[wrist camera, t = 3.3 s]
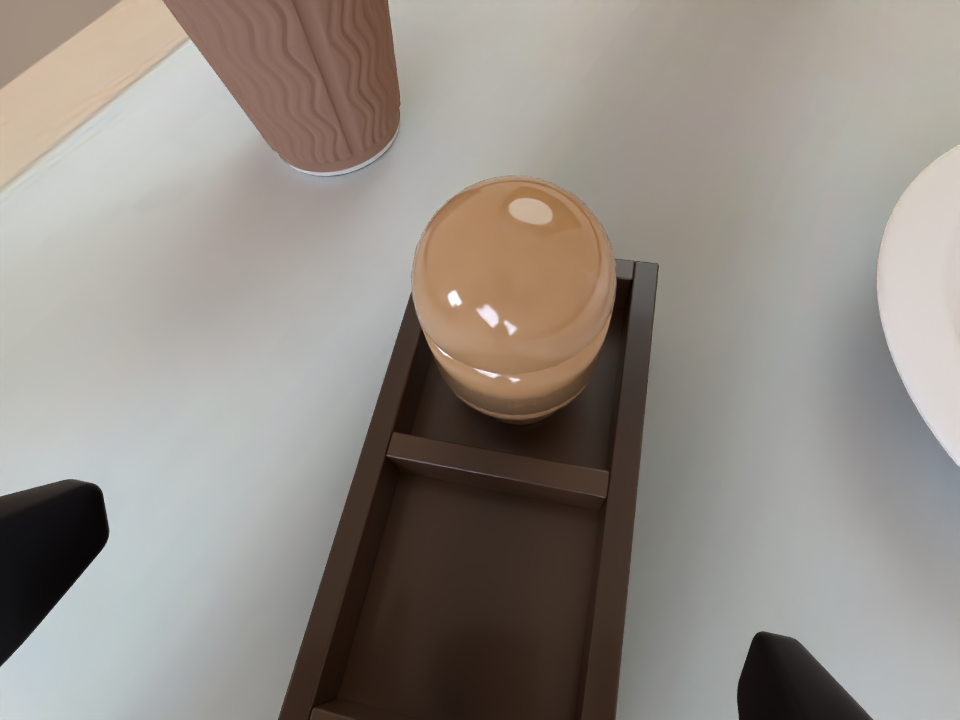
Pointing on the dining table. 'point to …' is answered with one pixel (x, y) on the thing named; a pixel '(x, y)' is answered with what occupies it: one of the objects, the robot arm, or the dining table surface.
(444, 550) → the dark brown wooden tray
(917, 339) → the candlestick
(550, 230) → the egg
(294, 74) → the coffee cup
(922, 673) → the dining table surface
